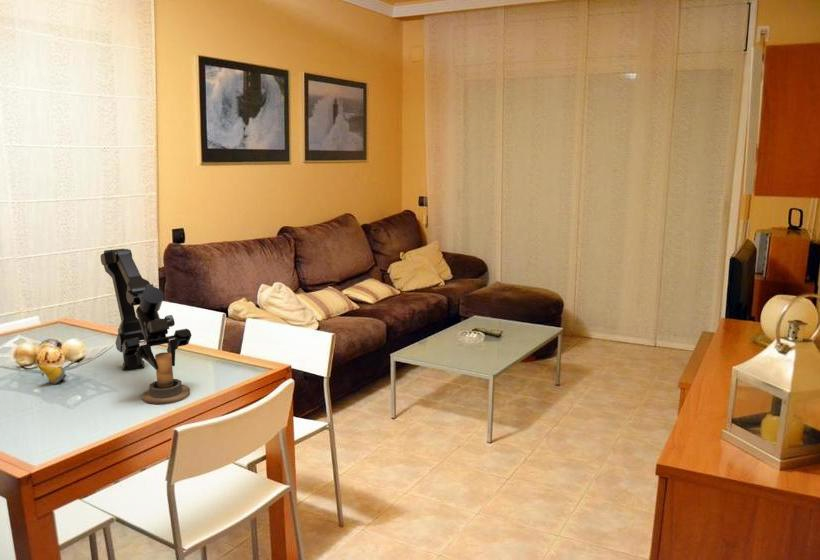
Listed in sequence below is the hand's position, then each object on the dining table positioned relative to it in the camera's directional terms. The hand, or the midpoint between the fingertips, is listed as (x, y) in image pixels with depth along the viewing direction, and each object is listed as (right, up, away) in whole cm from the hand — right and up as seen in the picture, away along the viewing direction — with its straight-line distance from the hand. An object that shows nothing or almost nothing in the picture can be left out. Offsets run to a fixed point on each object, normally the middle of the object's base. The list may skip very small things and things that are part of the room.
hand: (165, 367), depth 194 cm
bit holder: (-1, -9, +3) cm, 9 cm away
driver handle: (-1, -6, +2) cm, 7 cm away
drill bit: (-38, -7, +13) cm, 41 cm away
